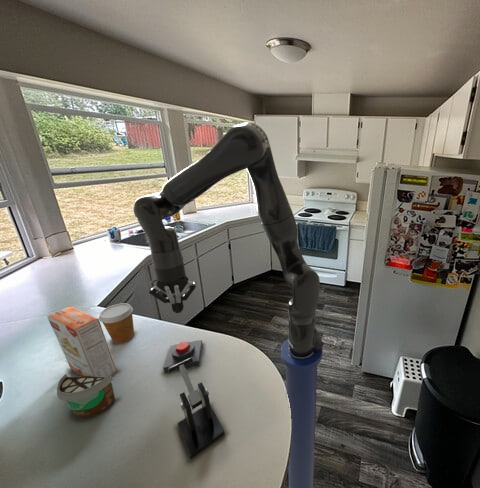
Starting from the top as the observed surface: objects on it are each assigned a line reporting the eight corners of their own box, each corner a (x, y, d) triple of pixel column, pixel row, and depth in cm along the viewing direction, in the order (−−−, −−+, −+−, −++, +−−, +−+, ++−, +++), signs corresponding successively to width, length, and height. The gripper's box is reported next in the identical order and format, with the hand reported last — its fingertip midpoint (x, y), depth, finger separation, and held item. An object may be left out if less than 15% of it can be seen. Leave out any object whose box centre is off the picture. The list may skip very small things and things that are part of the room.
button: (190, 344, 86) (189, 340, 85) (188, 352, 83) (187, 348, 82) (178, 346, 85) (177, 342, 84) (176, 354, 81) (175, 350, 81)
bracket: (178, 425, 64) (169, 390, 60) (209, 405, 70) (203, 371, 65) (191, 459, 58) (181, 421, 53) (225, 434, 63) (219, 398, 58)
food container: (53, 423, 64) (39, 395, 60) (75, 400, 70) (63, 374, 66) (103, 423, 64) (92, 395, 61) (121, 400, 70) (111, 374, 66)
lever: (168, 371, 64) (167, 366, 63) (191, 359, 68) (191, 355, 66) (184, 414, 58) (184, 410, 57) (209, 399, 61) (209, 395, 60)
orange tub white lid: (127, 326, 98) (119, 300, 94) (145, 332, 96) (138, 305, 91) (100, 342, 90) (90, 315, 86) (119, 349, 87) (110, 321, 83)
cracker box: (69, 370, 78) (45, 315, 71) (92, 357, 84) (72, 304, 76) (95, 387, 73) (72, 330, 66) (118, 371, 79) (99, 317, 71)
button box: (202, 344, 91) (201, 335, 89) (199, 365, 82) (197, 356, 81) (171, 350, 88) (169, 341, 86) (164, 373, 79) (162, 363, 78)
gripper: (137, 270, 68) (151, 322, 74) (191, 265, 72) (200, 315, 78) (146, 259, 74) (158, 308, 81) (195, 255, 79) (203, 301, 85)
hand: (179, 311), depth 79 cm, fingers closed
